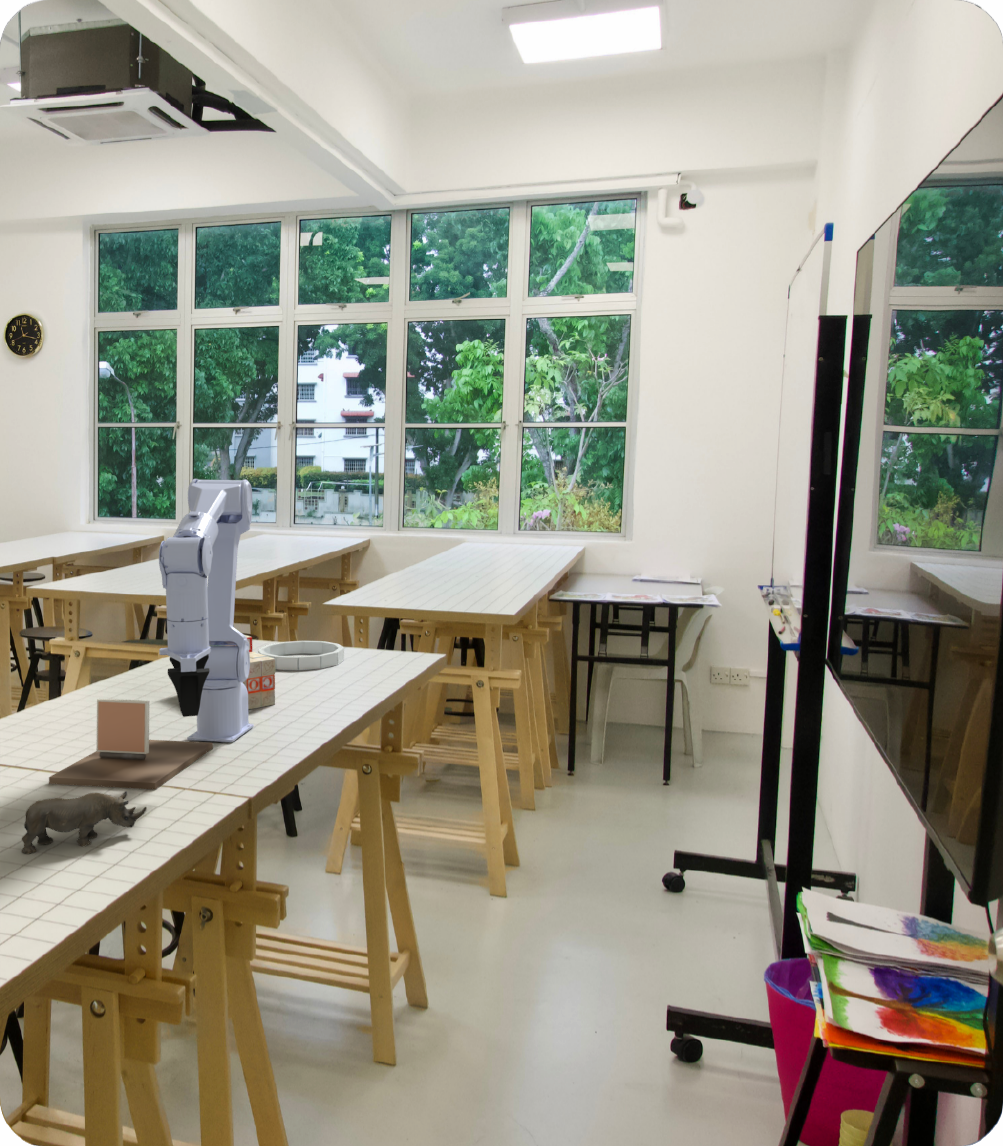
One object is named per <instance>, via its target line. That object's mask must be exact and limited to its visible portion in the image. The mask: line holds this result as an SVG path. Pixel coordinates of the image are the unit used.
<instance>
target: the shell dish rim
mask: <svg viewBox="0 0 1003 1146" xmlns="http://www.w3.org/2000/svg"><path fill="white" fill-rule="evenodd" d="M257 653H259V654H262V655H265V656H267V657H271V658H274V659H275V670H276V671H277V670H279V671H304V670H305V671H306V670H307V671H308V670H321V669H326V668H329V667H334V666H339V664H341V663H342V662H343V661H345V648H344V646H343V645H341V644H339V643H335V642H329V641H324V640H323V641H322V640H293V641H281V642H275V643H270V644H267V645H263V646H262V647H260V648H257ZM298 654H300V656H299V655H298ZM301 654H307V655H301ZM308 654H309V655H308ZM310 654H312V655H310ZM291 655H294V656H291ZM295 655H297V656H295Z"/></svg>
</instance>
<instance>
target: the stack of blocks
mask: <svg viewBox="0 0 1003 1146" xmlns="http://www.w3.org/2000/svg"><path fill="white" fill-rule="evenodd" d="M244 635H245V636H246V638H247V640H248V642H249V654H250V670H249V675H248V678H247V679H246V680H245V681H244V682H242V683H243V684H244V685H245V686H246V688H247V691H248V710H254V709H257V708H258V709H259V708H264V707H268V706H269V707H270V706H273V705H275V704H276V691H275V690H276V682H275V681H276V669H275V659H274V658H271V657H267V656H265V655H262V654H259V653H258V652H256V651H253V637H252V636H250V635H247V634H244ZM209 646H236V645H209Z"/></svg>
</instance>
